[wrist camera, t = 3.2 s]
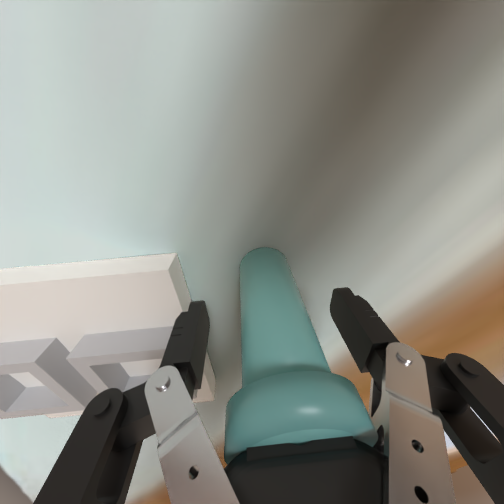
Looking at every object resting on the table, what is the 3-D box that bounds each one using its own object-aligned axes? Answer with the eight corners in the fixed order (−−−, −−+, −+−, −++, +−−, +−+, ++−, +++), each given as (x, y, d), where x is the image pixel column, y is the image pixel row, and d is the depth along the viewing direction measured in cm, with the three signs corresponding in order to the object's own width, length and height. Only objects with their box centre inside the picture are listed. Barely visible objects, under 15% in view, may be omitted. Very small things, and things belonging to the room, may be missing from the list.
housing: (-76, 275, 13) (-180, 321, 10) (176, 252, 14) (157, 289, 10) (64, 396, 22) (34, 441, 19) (216, 380, 22) (212, 422, 19)
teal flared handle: (227, 243, 13) (211, 431, 5) (296, 236, 14) (399, 410, 5) (235, 294, 16) (233, 480, 7) (293, 289, 16) (359, 465, 7)
